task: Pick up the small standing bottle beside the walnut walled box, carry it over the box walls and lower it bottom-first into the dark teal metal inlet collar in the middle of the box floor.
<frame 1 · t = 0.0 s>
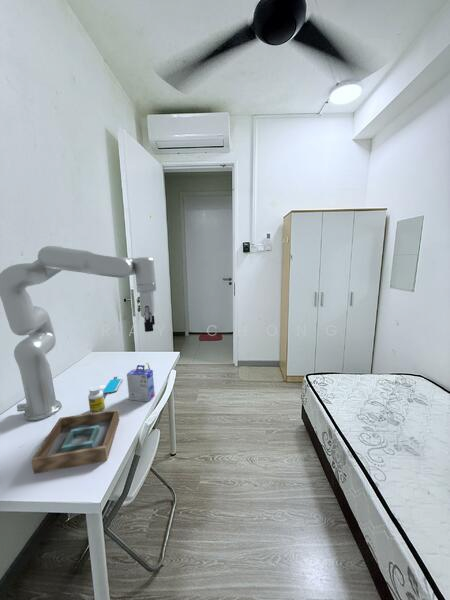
hand: (150, 327, 109), 31 cm above the table, tool pointing down, fingers open, 9 cm apart
phone stand: (108, 388, 124), on the table
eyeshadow: (145, 372, 138), on the table
supplement bottle: (97, 410, 105), on the table
ink cartridge box: (142, 398, 113), on the table
walled box: (82, 443, 87), on the table
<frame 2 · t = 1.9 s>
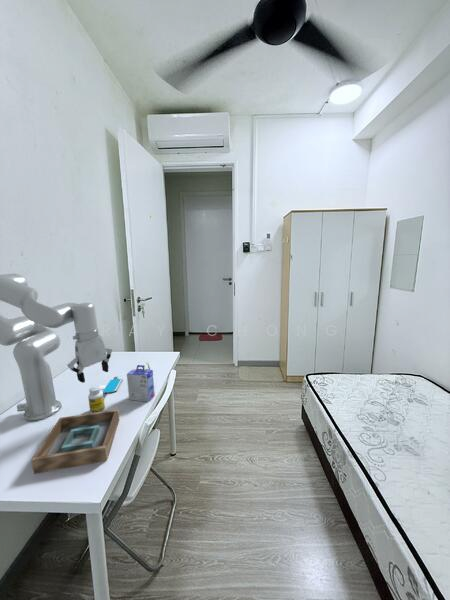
hand: (94, 376, 102), 15 cm above the table, tool pointing down, fingers open, 9 cm apart
nothing on the table moved.
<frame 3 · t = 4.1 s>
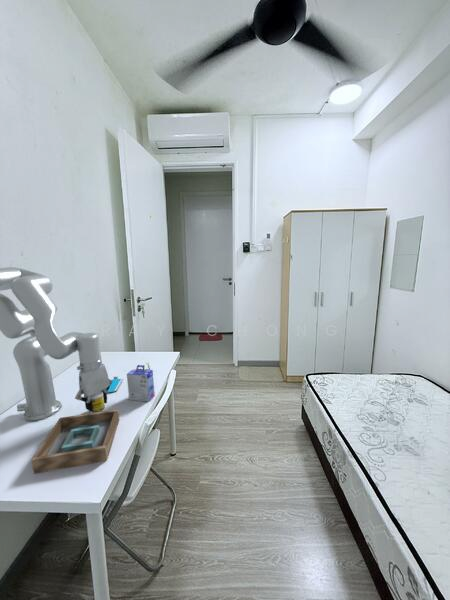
hand: (97, 405, 105), 2 cm above the table, tool pointing down, fingers closed on supplement bottle, 5 cm apart
supplement bottle: (97, 410, 105), on the table, touching gripper
everything else where it was.
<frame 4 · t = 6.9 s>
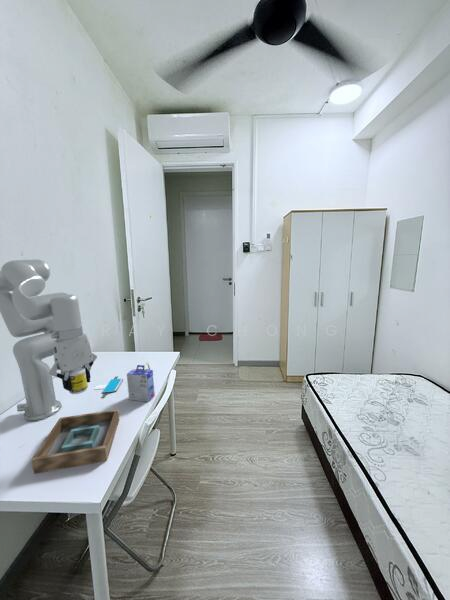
hand: (77, 385, 86), 20 cm above the table, tool pointing down, fingers closed on supplement bottle, 5 cm apart
supplement bottle: (79, 391, 86), point 18 cm above the table, touching gripper
everything else where it was.
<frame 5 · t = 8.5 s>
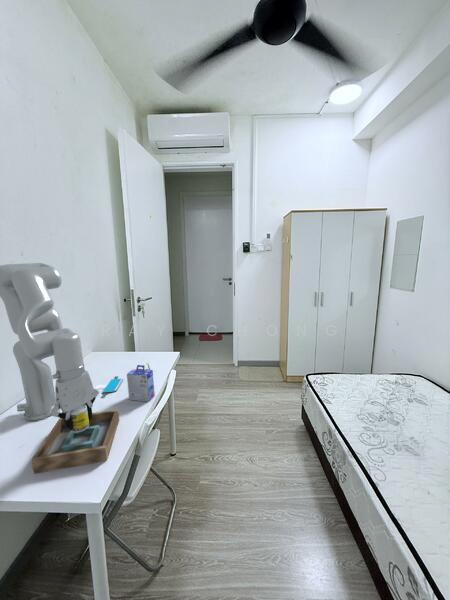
hand: (79, 422, 85), 8 cm above the table, tool pointing down, fingers closed on supplement bottle, 5 cm apart
supplement bottle: (80, 428, 86), point 6 cm above the table, touching gripper
everything else where it was.
when the fingers open (4 cm above the table, at t = 9.8 s): supplement bottle stays where it is, resting on walled box.
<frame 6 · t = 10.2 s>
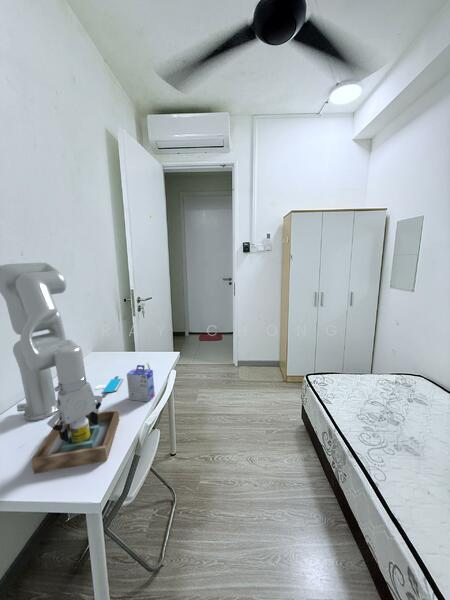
hand: (80, 431, 86), 5 cm above the table, tool pointing down, fingers open, 9 cm apart
supplement bottle: (82, 441, 87), point 1 cm above the table, touching walled box
everything else where it was.
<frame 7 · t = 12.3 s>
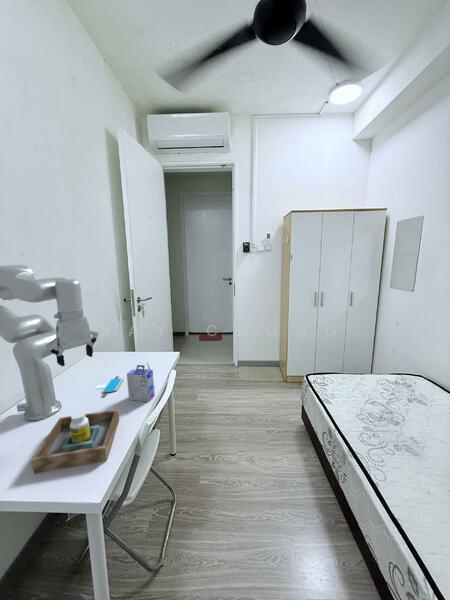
hand: (76, 360, 94), 25 cm above the table, tool pointing down, fingers open, 9 cm apart
nothing on the table moved.
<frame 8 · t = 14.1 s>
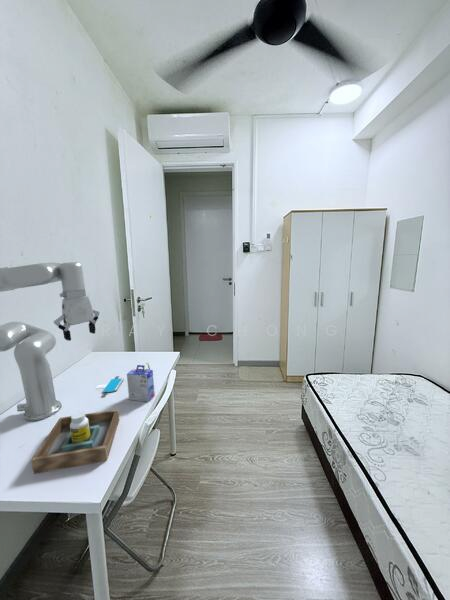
hand: (80, 336, 104), 30 cm above the table, tool pointing down, fingers open, 9 cm apart
nothing on the table moved.
at the end: supplement bottle 0.1 cm off-centre on the walled box, point 0.6 cm above the walled box's base; supplement bottle tilted 0°; the gripper is holding nothing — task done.
